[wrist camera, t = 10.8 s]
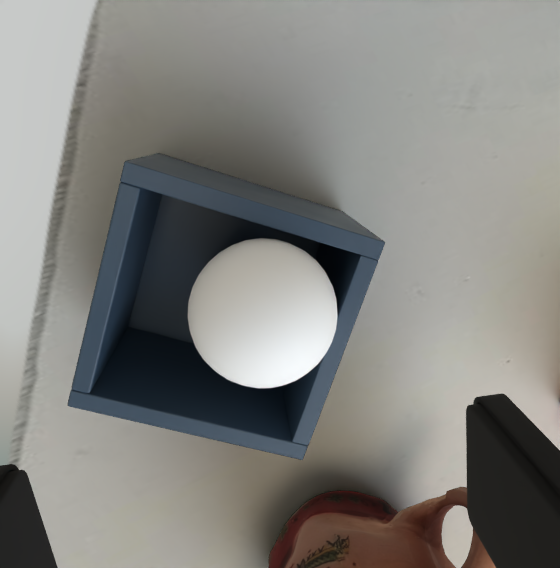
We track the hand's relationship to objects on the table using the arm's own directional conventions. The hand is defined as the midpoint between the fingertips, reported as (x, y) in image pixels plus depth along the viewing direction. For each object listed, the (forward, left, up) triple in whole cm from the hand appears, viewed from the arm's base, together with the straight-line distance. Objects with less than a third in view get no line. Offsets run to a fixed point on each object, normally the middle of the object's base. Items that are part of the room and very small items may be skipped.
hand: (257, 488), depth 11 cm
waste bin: (0, -1, -19) cm, 19 cm away
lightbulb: (0, -1, -19) cm, 19 cm away
